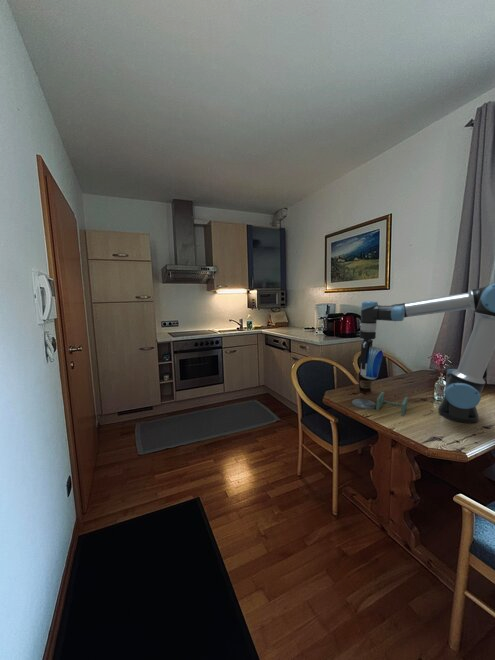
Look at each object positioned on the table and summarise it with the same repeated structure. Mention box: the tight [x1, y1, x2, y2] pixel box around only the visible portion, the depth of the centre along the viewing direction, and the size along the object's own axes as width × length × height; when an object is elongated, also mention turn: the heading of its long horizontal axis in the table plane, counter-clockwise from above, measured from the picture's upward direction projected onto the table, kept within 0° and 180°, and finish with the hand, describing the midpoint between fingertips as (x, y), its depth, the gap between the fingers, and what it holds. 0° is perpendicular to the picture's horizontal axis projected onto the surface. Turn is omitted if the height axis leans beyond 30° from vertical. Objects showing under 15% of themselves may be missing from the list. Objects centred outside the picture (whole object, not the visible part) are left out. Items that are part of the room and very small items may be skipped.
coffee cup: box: [358, 370, 373, 394], centre depth 157 cm, size 9×8×13 cm
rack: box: [375, 391, 409, 417], centre depth 135 cm, size 12×13×6 cm
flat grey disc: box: [351, 398, 377, 410], centre depth 141 cm, size 12×12×1 cm
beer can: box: [362, 345, 384, 381], centre depth 136 cm, size 8×8×16 cm
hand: (365, 372), depth 138 cm, fingers closed on beer can, 8 cm apart
